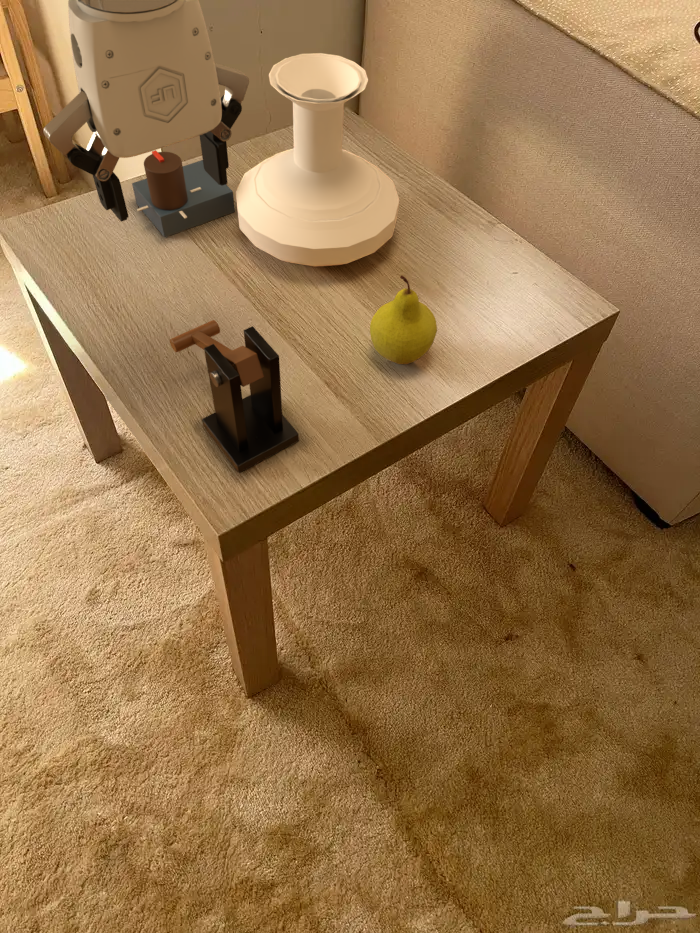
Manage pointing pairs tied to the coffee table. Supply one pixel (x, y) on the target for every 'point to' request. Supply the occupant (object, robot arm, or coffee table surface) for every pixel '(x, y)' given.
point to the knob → (165, 180)
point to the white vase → (317, 174)
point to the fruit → (403, 328)
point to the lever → (222, 351)
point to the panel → (188, 202)
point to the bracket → (247, 407)
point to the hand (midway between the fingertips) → (168, 194)
